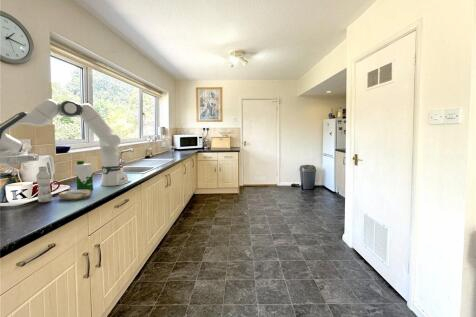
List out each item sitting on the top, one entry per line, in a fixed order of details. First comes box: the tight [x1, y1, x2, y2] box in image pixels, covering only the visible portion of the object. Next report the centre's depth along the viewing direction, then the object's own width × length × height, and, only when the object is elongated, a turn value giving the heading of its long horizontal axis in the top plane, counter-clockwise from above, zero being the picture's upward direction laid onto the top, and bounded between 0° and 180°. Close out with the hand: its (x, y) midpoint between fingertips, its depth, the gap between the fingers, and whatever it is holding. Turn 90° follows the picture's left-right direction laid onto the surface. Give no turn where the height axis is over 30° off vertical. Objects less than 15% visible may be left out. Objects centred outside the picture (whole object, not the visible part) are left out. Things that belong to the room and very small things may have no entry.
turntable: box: [58, 189, 92, 200], centre depth 152 cm, size 16×16×2 cm
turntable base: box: [62, 196, 88, 202], centre depth 152 cm, size 12×12×2 cm
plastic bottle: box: [35, 166, 53, 203], centre depth 142 cm, size 6×7×20 cm
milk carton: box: [74, 160, 94, 191], centre depth 172 cm, size 9×9×20 cm
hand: (26, 159), depth 144 cm, fingers open, 8 cm apart
